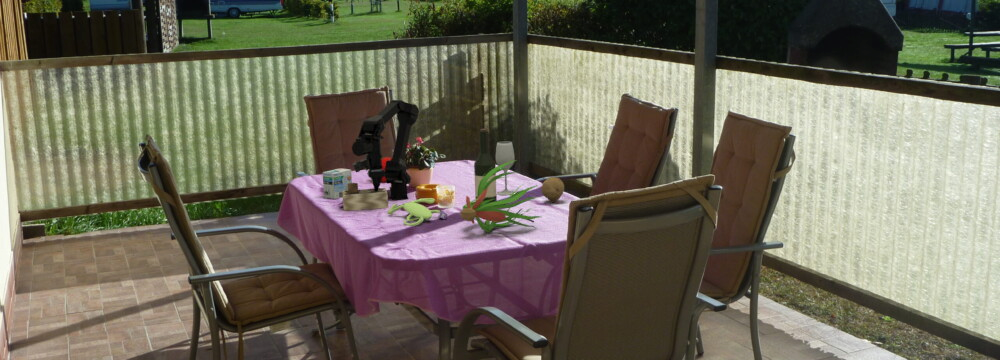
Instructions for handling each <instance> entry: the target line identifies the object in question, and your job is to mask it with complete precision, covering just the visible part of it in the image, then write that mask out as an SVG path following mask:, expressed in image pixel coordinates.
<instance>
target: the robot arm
mask: <svg viewBox="0 0 1000 360" xmlns="http://www.w3.org/2000/svg"><path fill="white" fill-rule="evenodd" d="M419 114H420V108H419V107H418V105H416V103H415V104H413V103H409V102H405V101H403V100H401V99H392V100H390V102H389V103H388V104H387V105H386V106H385V107H384V108H383V109H382V110H380V111H379V112H378V113H377V114H376V115H375V116H371V117H369V118H366V119H365V120H364V121H363V122H362V125H361V128H360V130H359V133H358V136H357V138H355V142H353V143H352V146H351V151H352V153H353V154H354V156H356V157H361V156H365V158H362V159H359V160H358V161H355V162H353V163H352V167H353V169H354V171H355V173H359V172H360V171H362V170H364V169H365V171H367V177H368V178H370V179H371V181H372V185H373V189H374V190H375V191H378V189H379V188H380V186H381V183H382V182H381V180H382V178H383V177H384V176H385V178H386V182H385V183H386V184H390V186H389V188H388V189H389V198H391V200H393V201H396V200H406V199H409V197H408V185H409V184H410V183H411V180H412V177H411V176H410V174H409V173H408V172H407V170H408V169H407V168H408V166H407V165H406V162H405V158H406V153H407V150H408V149H407V148H408V143H409V138H410V135H411V129H412V127H413V125H415V123H416V122H417V120H418V116H419ZM395 116H396V119H397V121H398V128H397V133H396V139H395V142H394V148H393V152H392V157H391V158H392V159H391V160H390V161H388V160H387V161H386V166H385V169H384V170H385V171H384V170H383V169H382V168H383V165H382V156H383V155H382V141H381V140H384V136H383V135H382V133H383V132H384V131H385V129H386V124H387V123H388V122H389V121H390V120H391V119H392V118H393V117H395Z"/></svg>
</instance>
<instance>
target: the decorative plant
mask: <svg viewBox="0 0 1000 360" xmlns="http://www.w3.org/2000/svg"><path fill="white" fill-rule="evenodd" d="M511 159H512V158H511ZM504 160H505V159H504ZM502 161H503V160H502ZM511 162H513V161H510V162H507V163H504V164H502V165H500V166H498V165H497V164H498V163H496V164H495V165H494V166H495V168H494V169H492V170H491V171H490V172H488V173H487V175H486V176H485V177H484V178H483V177H482V178H483V179H481V180H480V183H479V186H478V192H477V197H478V198H477V199H476V198H474V199H473V200H471V199H470V197H469V196H468V195H466V197H465V204H464V205H463V206H462V209H461V210H460V217H461V219H462V220H464V221H467V222H471V223H472V224H475V220H476V222H477V224H478V226H479V228H481V230H483V231H484V232H486V233H490V232H491V231H492V230H493V229H494V228H505V227H510V226H513V225H518V226H522V227H529V228H534V229H536V230H537V228H538V227H535V226H534V225H529V224H526V223H525V224H524V223H521V222H520V221H522V220H525V221H529V222H531V223H535V221H534V220H535V219H537V218H541V216H540V215H533V216H532V215H526V214H524V213H527V212H530V210H532V209H534V207H533V208H529V209H526V210H525V211H524V209H523V208H520V209H519V210H518V211H511V210H510V209H511V208H515V207H517V206H519V205H520V204H523V203H524V202H528V201H530V200H532V201H533V200H536V197H537V199H539V198H540V196H539V197H538V195H536V197H531V196H530V197H527V198H524V199H522V200H520V199H521V197H522V196H524V195H525V194H526V193H527V192H529V191H530V190H532V189H534V188H536V187H537V186H538V184H536V185H534V186H530V187H527V188H525V189H522V190H519V188H521V186H523V185H525V184H526V183H528V182H529V181H531V180H532V179H531V178H530V179H529V180H528V182H525V183H523V184H521V185H519V186H518V187H517V188H516V189H515V190H514V191H513V193H512V194H511V195H508V198H504V199H500V200H497V201H495V202H491V203H488V202H490V201H492V200H494V199H490V200H486V201H483V200H484V199H485V198H487V197H485V196H486V193H487V189H488V186H489V185H490V184H491V183H492V182H493V181H495V180H496V181H497V180H499V179H503V178H504V179H505V175H507V176H509V175H510V174H518V171H517V172H516V171H509V172H508V171H507V173H504V172H502V171H503V170H504V169H507V168H502V167H504V166H505V165H507V164H509V163H511ZM517 162H518V160H517V159H516V160H515V159H514V163H513V164H512V165H511V167H510V168H509V169H508V170H510V169H511V168H512V167H513V166H514V165H515V163H517ZM499 163H500V162H499ZM491 168H492V167H491ZM491 168H490V169H491ZM499 172H502V173H499ZM505 172H506V171H505ZM495 173H496V176H495V177H493V178H492V179H491V180H490V181H488V179H489V178H490V177H491V176H492V175H494V174H495ZM497 173H499V174H497ZM484 175H485V174H484ZM484 175H483V176H484ZM487 181H488V182H487ZM486 182H487V183H486ZM518 190H519V191H518ZM488 192H489V191H488ZM514 193H515V194H514ZM488 197H491V196H488ZM476 200H477V201H476ZM518 200H519V201H518ZM486 203H488V204H486ZM482 205H483V206H482ZM479 207H480V208H479ZM522 209H523V210H522ZM522 211H524V213H521V212H522ZM516 219H521V220H518V221H517V220H516ZM482 220H484V222H483V221H482Z"/></svg>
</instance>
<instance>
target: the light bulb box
mask: <svg viewBox="0 0 1000 360" xmlns="http://www.w3.org/2000/svg"><path fill="white" fill-rule="evenodd" d="M352 175H353V174H352V169H348V168H342V167H341V168H335V169H331V170H327V171H323V172H322V184H323V185H322V186H323V198H326V199H332V200H336V199H340V198H343V196H342V191H348V186H347V184H348V183H353V179H352V177H353V176H352Z"/></svg>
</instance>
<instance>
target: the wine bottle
mask: <svg viewBox="0 0 1000 360" xmlns="http://www.w3.org/2000/svg"><path fill="white" fill-rule="evenodd" d="M478 132H479V133H478V134H479V135H478V136H479V137H478V138H479V153H478V156H477V158H476V160H475V161H474V164H473V167H474V168H473V169H474V192H475V195H474V197H475V198H474V199H477V198H478V197H477V192H478V186H479V183H480V180H481V179H483V178H484V177H485V176H486V175H487V173H488V172H490V171H491V170H492V169H494V168H496V161H494V159H493V158H492V156H491V154H490V152H489V131H488V130H487V128H481V129H480V130H479V131H478ZM494 165H495V166H494ZM491 167H492V168H491ZM490 168H491V169H490ZM484 174H485V175H484ZM483 175H484V176H483ZM495 176H497V173H495V174H494V175H492V176H491V177H490V178H489V179H488V181H490V180H491V179H492V178H493V177H495ZM482 177H483V178H482ZM488 181H487V182H488ZM487 182H486V183H487ZM488 191H489V192H488ZM488 196H491V197H488ZM485 197H487V198H485V199H484V200H483V201H486V200H490V199H494V200H492V201H490V202H488V203H491V202H495V201H498V200H497V180H495V181H493V182H492V183H491V184H490V185H489V186H488V189H487V193H486V196H485ZM475 201H477V200H475ZM488 203H486V204H488ZM482 206H483V205H482ZM479 208H480V207H479Z"/></svg>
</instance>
